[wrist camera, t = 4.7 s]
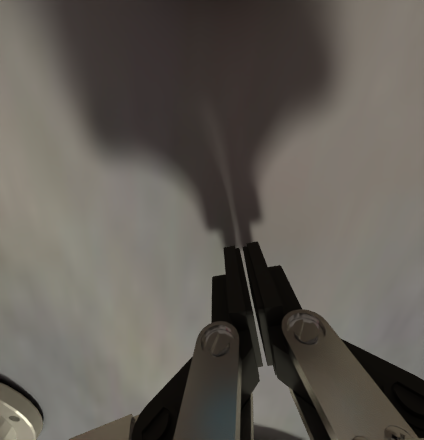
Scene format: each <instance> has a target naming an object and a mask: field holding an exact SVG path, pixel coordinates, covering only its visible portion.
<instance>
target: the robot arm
mask: <svg viewBox="0 0 424 440" xmlns="http://www.w3.org/2000/svg"><path fill="white" fill-rule="evenodd" d="M243 251H244V257H245V262H246V268H247V273H248V278H249V284H250V289H251V294H252V299H253V303H254V308H255V312H256V317H257V321H258V326H259V330H260V334H261V339H262V343H263V348H264V352H265V357H266V361H267V365H268V366H270V365H273V367H274V371H275V375H277V378H278V379H279V380H280V381H282V382H283V383H284V384H286V385H287V386H288V387H289V389H290V393H291V395H292V398H293V400H294V402H295V405H296V407H297V409H298V412H299V414H300V416H301V419H302V421H303V424H304V426H305V428H306V431H307V433H308V435H309V438H310V440H424V380H422V379H420V378H419V377H417V376H415V375H413V374H411V373H409V372H407V371H405V370H403V369H401V368H399V367H397V366H395V365H393V364H391V363H389V362H387V361H385V360H383V359H381V358H379V357H377V356H375V355H373V354H371V353H369V352H367V351H365V350H363V349H361V348H359V347H357V346H355V345H352V344H350V343H348V342H346V341H344V340H342V339H340V338H339V336H338V335H337V334H336V332H335V331H334V330H333V329H332V327H331V326H330V325H329V324H328V322H327V321H326V320H325V319H324V318H323V317H322V316H320V315H318V314H317V313H315V312H312V311H309V310H303V309H302V308H301V306H300V304H299V302H298V300H297V298H296V296H295V294H294V291H293V289H292V287H291V285H290V283H289V281H288V279H287V277H286V275H285V273H284V271H283V269H282V267H281V266H280V265H279V266H273V267H267V264H266V262H265V259H264V257H263V254H262V251H261V249H260V246H259V244H258V242H252V243H247V247H243ZM224 258H225V271H226V275H220V276H214V277H212V323H211V324H208V325H207V326H206V327H204V328H203V329H202V331H201V332H200V333H199V335H198V338H197V341H196V345H195V349H194V353H193V357H192V358H191V359H190V360H189V361H188V362H187V363H186V364H185V365H184V366H183V367H182V368H181V369H180V371H179V372H178V373H177V374H176V375H175V376H174V377H173V378H172V379H171V380H170V381H169V382H168V383H167V384H166V385H165V386H164V388H163V389H162V390H161V391H160V392H159V393H158V394H157V395H156V396H155V397H154V398H153V399H152V400H151V401H150V402H149V403H148V405H147V406H146V407H145V408H144V409H143V411H142V412H141V413H140V414H139V415H137V416H134V417H133V415H132V414H130V415H127V416H125V417H122V418H120V419H118V420H115V421H113V422H110V423H108V424H105V425H103V426H100V427H98V428H95V429H93V430H90V431H88V432H85V433H83V434H80V435H78V436H75V437H73V438H71V439H69V440H254V428H253V394H252V392H253V390H254V388H255V387H256V385H257V384H258V382H259V381H260V380H259V373H258V367H261V366H263V363H262V358H261V353H260V348H259V342H258V337H257V332H256V326H255V321H254V316H253V311H252V306H251V301H250V296H249V291H248V287H247V282H246V277H245V272H244V268H243V263H242V258H241V253H240V249H239V248H236V249H235V246H230V247H225V248H224ZM42 427H43V422H42V417H41V415H40V413H39V411H38V409H37V408H36V407H35V406H34V405H33V404H32V402H31V401H30V400H28V399H27V398H26V397H25V396H23V395H22V394H21V393H19V392H18V391H16V390H14V389H13V388H11V387H9V386H7V385H5V384H3V383H1V382H0V440H37V438H38V436H39V434H40V433H41V431H42Z"/></svg>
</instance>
